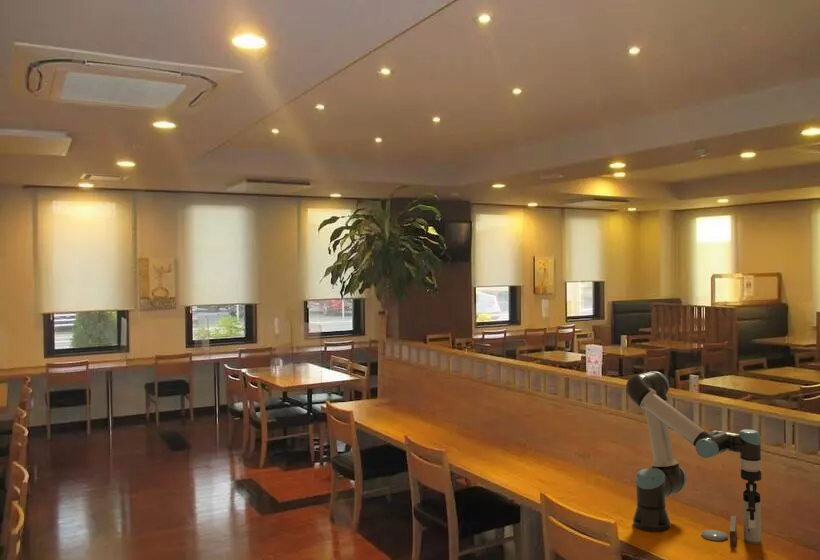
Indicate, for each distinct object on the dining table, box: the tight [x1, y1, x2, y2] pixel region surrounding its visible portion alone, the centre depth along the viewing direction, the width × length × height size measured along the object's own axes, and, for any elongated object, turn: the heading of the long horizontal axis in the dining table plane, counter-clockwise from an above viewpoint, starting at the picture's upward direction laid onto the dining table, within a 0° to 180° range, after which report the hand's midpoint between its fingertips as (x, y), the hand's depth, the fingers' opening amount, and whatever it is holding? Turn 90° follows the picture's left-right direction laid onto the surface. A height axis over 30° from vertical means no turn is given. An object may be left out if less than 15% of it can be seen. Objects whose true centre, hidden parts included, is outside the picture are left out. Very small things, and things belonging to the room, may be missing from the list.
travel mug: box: [742, 489, 762, 545], centre depth 278 cm, size 6×7×20 cm
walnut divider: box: [729, 515, 737, 547], centre depth 283 cm, size 2×18×6 cm, turn 154°
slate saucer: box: [700, 529, 729, 542], centre depth 285 cm, size 10×10×1 cm
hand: (752, 521), depth 278 cm, fingers open, 13 cm apart
